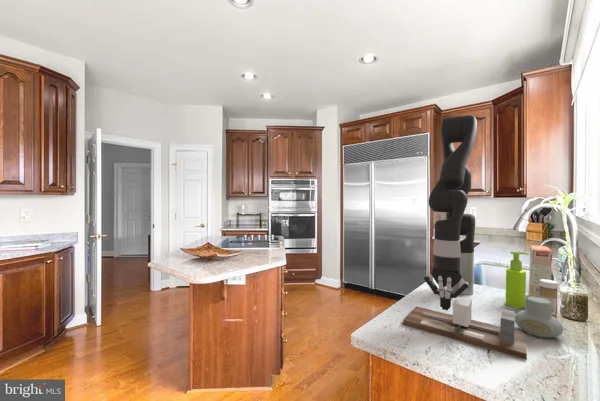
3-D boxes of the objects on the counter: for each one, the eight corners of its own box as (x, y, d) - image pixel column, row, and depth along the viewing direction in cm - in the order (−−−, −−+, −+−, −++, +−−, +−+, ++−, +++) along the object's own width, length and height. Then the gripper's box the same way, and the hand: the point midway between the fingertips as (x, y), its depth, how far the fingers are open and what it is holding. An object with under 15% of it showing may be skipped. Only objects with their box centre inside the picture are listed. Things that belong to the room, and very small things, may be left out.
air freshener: (564, 335, 82) (565, 301, 82) (560, 345, 76) (561, 308, 76) (518, 323, 90) (518, 291, 90) (511, 330, 84) (512, 297, 84)
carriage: (456, 316, 89) (456, 296, 89) (471, 319, 86) (471, 299, 86) (450, 329, 80) (450, 307, 80) (466, 333, 77) (466, 310, 77)
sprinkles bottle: (559, 323, 90) (560, 281, 90) (554, 326, 88) (555, 283, 87) (541, 317, 94) (542, 277, 94) (536, 321, 91) (537, 280, 91)
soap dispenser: (532, 308, 102) (533, 253, 102) (513, 307, 102) (514, 253, 102) (519, 302, 108) (521, 250, 108) (501, 301, 108) (502, 250, 108)
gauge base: (415, 310, 99) (416, 289, 98) (525, 337, 80) (525, 311, 80) (403, 324, 87) (403, 300, 87) (526, 359, 69) (527, 329, 69)
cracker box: (551, 307, 103) (552, 251, 103) (530, 303, 107) (531, 249, 106) (547, 297, 114) (548, 246, 114) (528, 294, 118) (529, 244, 118)
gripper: (472, 255, 86) (471, 311, 86) (426, 249, 94) (425, 300, 95) (469, 259, 80) (468, 319, 80) (420, 252, 88) (419, 307, 89)
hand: (445, 309), depth 87 cm, fingers closed
